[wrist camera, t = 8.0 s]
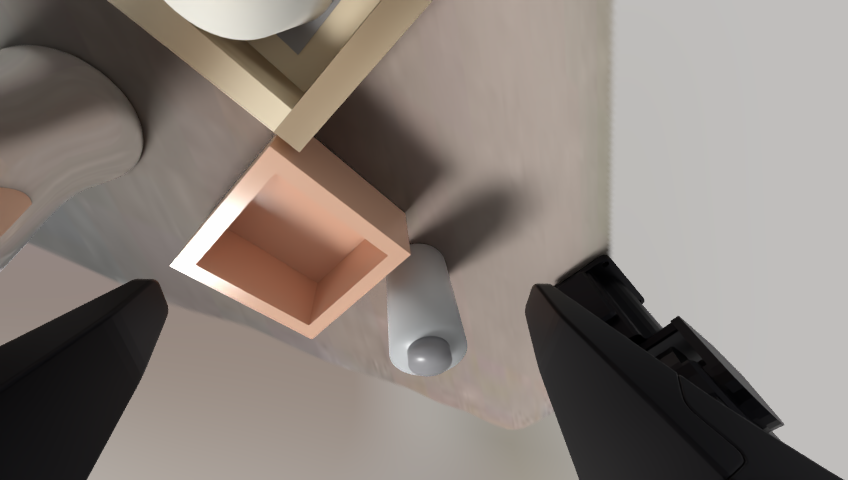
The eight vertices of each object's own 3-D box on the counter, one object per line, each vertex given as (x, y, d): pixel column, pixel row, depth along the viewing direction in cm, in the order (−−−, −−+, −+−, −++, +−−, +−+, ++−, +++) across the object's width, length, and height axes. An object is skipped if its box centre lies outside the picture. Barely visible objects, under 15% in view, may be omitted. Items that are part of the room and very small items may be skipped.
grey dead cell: (457, 266, 24) (486, 357, 18) (415, 299, 26) (428, 396, 19) (416, 232, 22) (432, 321, 16) (373, 270, 24) (372, 366, 17)
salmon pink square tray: (405, 213, 21) (411, 254, 18) (320, 290, 24) (311, 339, 21) (290, 117, 18) (269, 146, 14) (204, 220, 20) (169, 266, 17)
